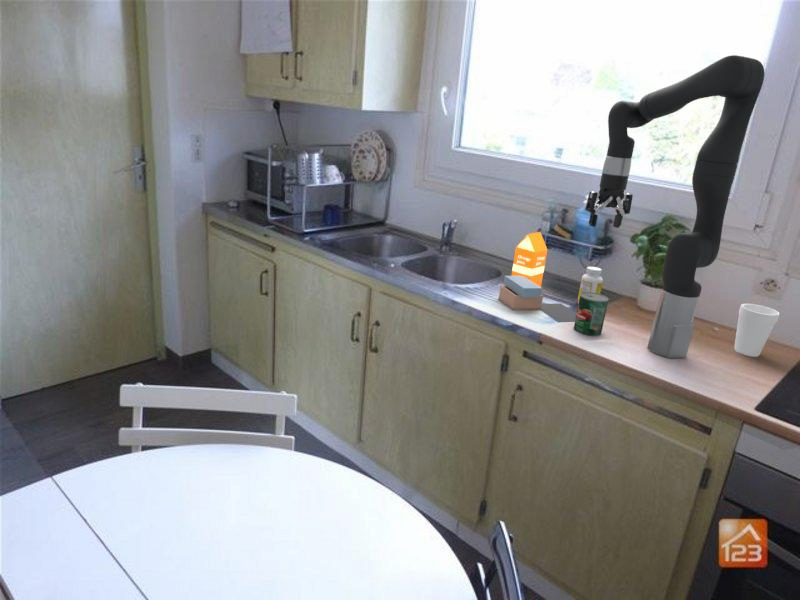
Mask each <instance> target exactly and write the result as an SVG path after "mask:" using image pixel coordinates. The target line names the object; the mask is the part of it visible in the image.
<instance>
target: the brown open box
mask: <svg viewBox="0 0 800 600" xmlns="http://www.w3.org/2000/svg"><path fill="white" fill-rule="evenodd" d="M499 287H500V288H499V294H498V300H499V301H500V302H502V303H503V304H504V305H505V306H507V307H508V308H509V309H510V310H512V311H526V310H527V311H528V310H529V311H530V310H539V309H541V305H542V304H543V298H544V294H541V297H525V298H522V297H521V296H519V295H518V294H517V293H515V292H514V291H512V290H511V289H509V288H508V287H506V286H505V285H500V286H499Z"/></svg>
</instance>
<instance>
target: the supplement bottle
mask: <svg viewBox="0 0 800 600" xmlns="http://www.w3.org/2000/svg"><path fill="white" fill-rule="evenodd" d="M602 271H603V270H602V268H599V267H597V266H587V267H586V273H584V274H583V275H582V277H581V281H580V286H579V290H578V296H577V304H579V299H580V294H581V293H582V292H593V293H598V294H601V291H602V286H603V282H604V280H603V277H602V276H601V274H602V273H603V272H602Z"/></svg>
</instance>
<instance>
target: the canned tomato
mask: <svg viewBox="0 0 800 600" xmlns="http://www.w3.org/2000/svg"><path fill="white" fill-rule="evenodd" d="M609 300H610V299H609V298H608V296H606V295H604V294H601V293H600V294H598V293H593V292H582V293H581V294H580V299H579V304H578V303H577V304H578V305H577V310H576V313H577V314H576V319H575V322H574V325H573V330H574V331H575V332H576V333H578V334H581V335H585V336H588V337H589V336H590V337H599V336H601V334H602V331H603V328H604V327H603V326H604V322H605V319H606V318H605V317H606V313H607V308H608V303H609Z"/></svg>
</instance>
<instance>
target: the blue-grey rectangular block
mask: <svg viewBox="0 0 800 600" xmlns="http://www.w3.org/2000/svg"><path fill="white" fill-rule="evenodd" d="M503 286H506V287H508V288H509V289H511V290H512V291H514V292H515V293H517V294H518V295H519V296H521V297H522V298H525V297H541V295H542V293H543V291H542V290H543V287H542V286H541V287H540V286H538V285H536V284H535V283H533V282H532V281H530V280H528V279H527V278H525V277H523V276H511V275H504V278H503Z"/></svg>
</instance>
